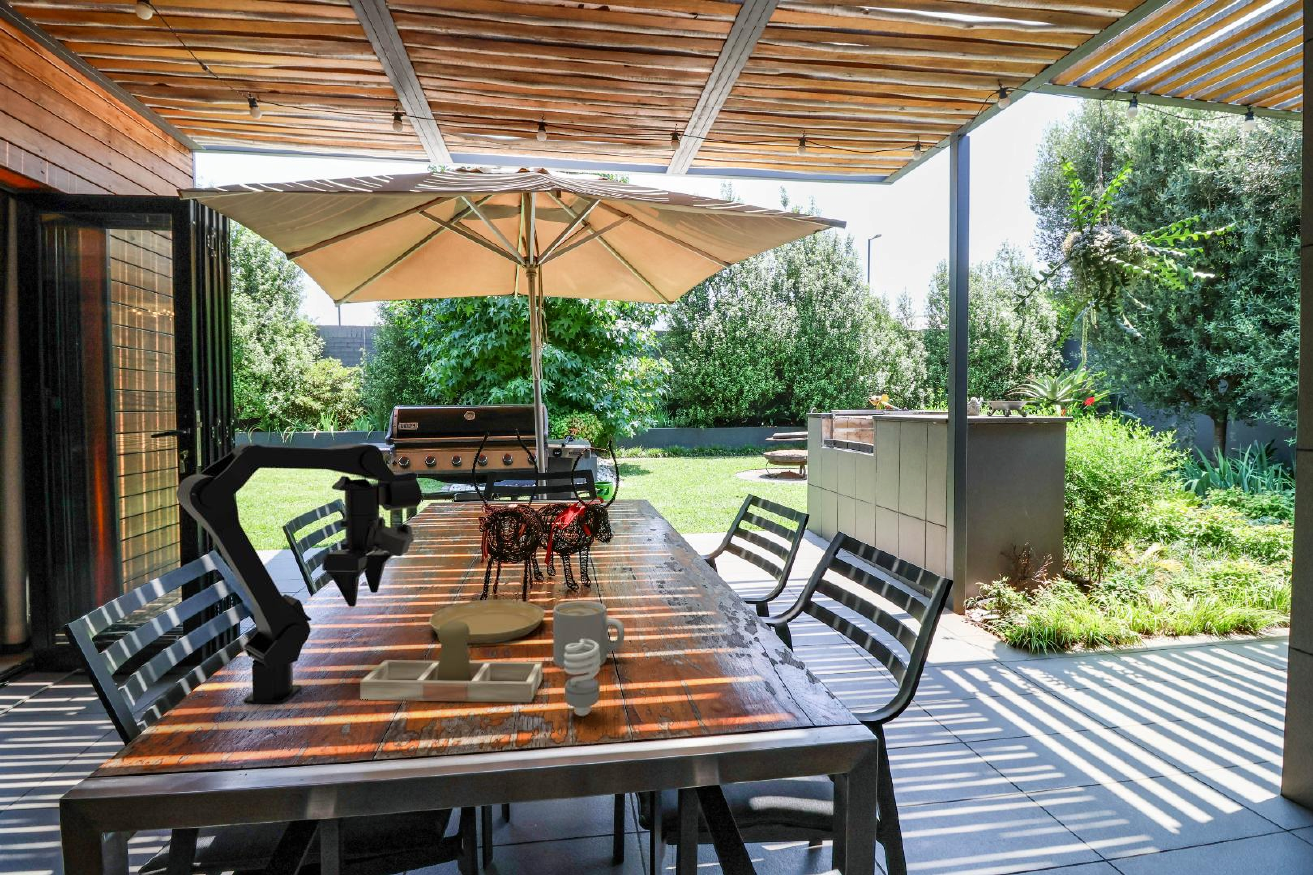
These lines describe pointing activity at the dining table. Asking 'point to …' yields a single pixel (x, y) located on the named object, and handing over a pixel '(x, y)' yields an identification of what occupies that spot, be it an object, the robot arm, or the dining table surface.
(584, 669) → the light bulb
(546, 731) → the dining table surface
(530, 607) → the plant saucer
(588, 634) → the coffee mug
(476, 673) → the rack
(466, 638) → the olive chess pawn
